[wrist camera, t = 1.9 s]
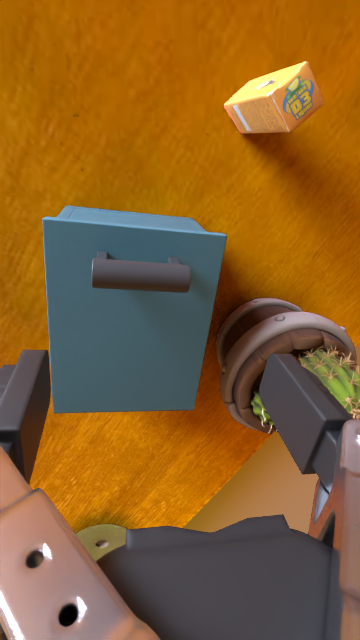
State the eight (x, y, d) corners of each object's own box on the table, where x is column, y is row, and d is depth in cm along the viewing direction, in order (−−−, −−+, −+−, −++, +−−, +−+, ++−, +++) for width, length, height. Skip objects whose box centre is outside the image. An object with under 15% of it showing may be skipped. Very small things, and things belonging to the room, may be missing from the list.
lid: (44, 216, 22) (25, 235, 18) (224, 233, 25) (249, 253, 20) (54, 407, 30) (43, 456, 25) (192, 404, 33) (205, 448, 28)
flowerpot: (278, 386, 49) (369, 522, 31) (182, 365, 44) (226, 511, 26) (330, 299, 43) (477, 406, 26) (227, 264, 38) (321, 365, 21)
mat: (116, 556, 62) (116, 567, 60) (57, 548, 57) (55, 560, 56) (145, 519, 58) (146, 531, 56) (84, 508, 54) (83, 520, 52)
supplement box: (241, 138, 32) (287, 136, 24) (221, 105, 31) (264, 90, 22) (269, 114, 32) (327, 102, 23) (251, 78, 30) (306, 52, 21)
